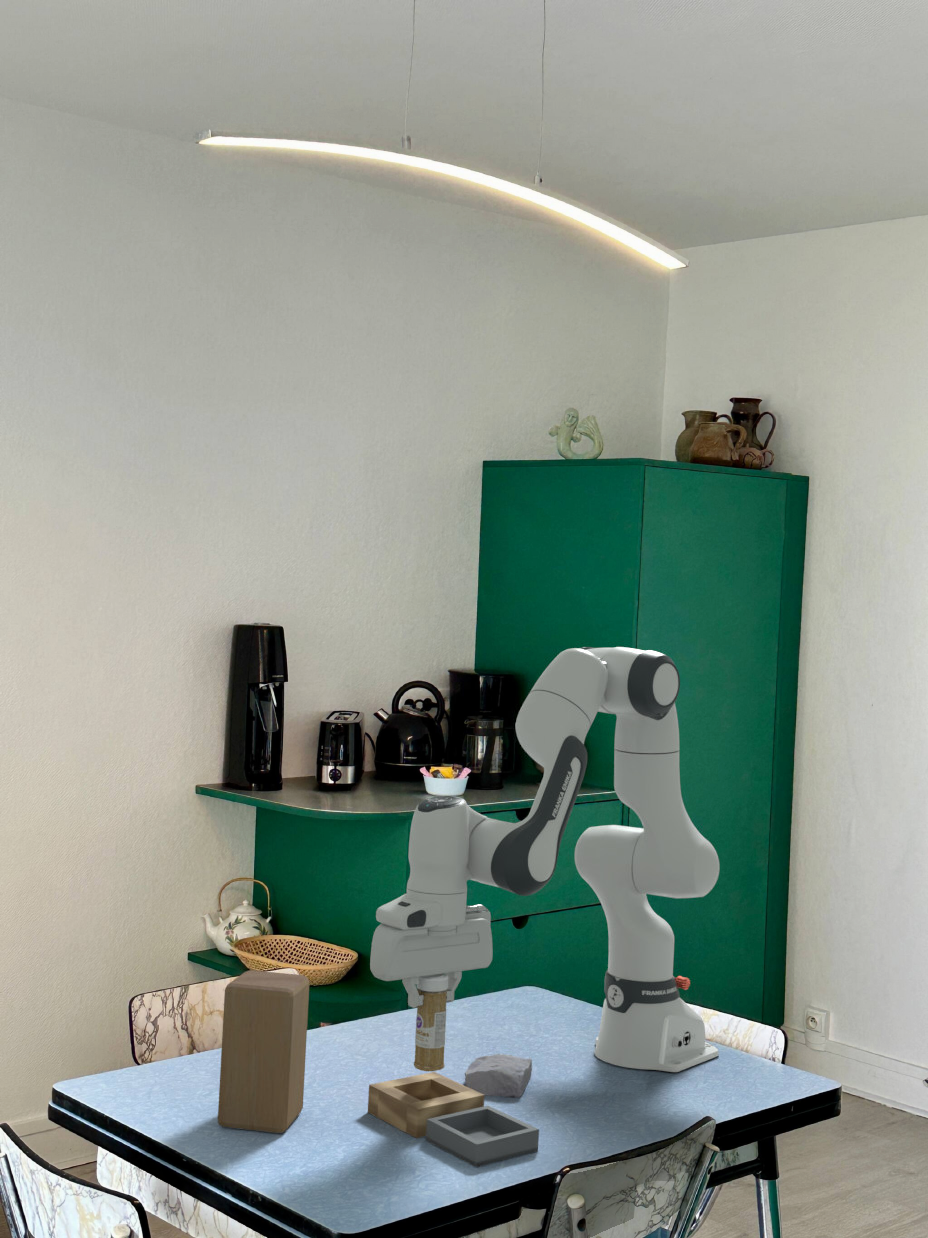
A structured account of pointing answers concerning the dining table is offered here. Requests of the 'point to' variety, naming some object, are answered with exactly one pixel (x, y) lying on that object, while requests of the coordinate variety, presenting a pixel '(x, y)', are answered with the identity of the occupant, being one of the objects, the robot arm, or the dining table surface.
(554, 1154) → the dining table surface
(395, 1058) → the dining table surface
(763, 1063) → the dining table surface
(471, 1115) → the tray
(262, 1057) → the wooden block
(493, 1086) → the stone block
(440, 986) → the sprinkles bottle
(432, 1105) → the oak bore block
